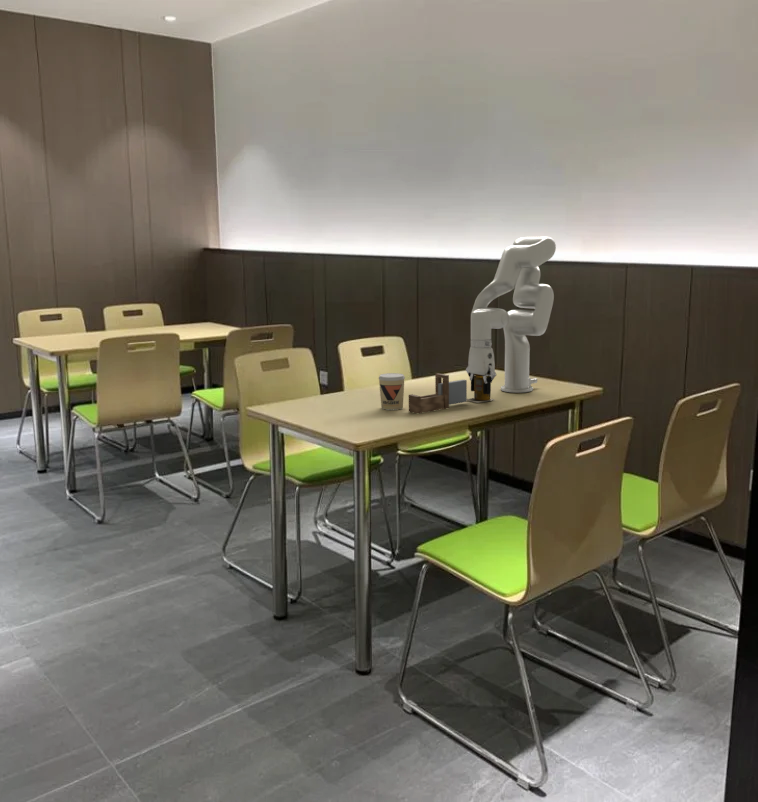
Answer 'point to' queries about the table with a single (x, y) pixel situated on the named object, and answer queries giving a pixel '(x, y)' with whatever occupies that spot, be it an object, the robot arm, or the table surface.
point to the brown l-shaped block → (431, 397)
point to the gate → (455, 391)
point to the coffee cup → (391, 390)
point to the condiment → (479, 390)
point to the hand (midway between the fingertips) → (480, 391)
